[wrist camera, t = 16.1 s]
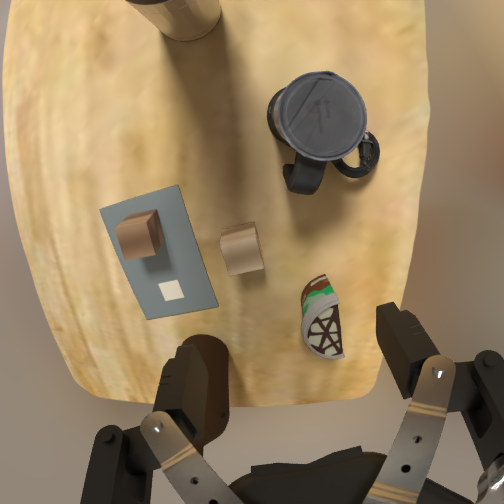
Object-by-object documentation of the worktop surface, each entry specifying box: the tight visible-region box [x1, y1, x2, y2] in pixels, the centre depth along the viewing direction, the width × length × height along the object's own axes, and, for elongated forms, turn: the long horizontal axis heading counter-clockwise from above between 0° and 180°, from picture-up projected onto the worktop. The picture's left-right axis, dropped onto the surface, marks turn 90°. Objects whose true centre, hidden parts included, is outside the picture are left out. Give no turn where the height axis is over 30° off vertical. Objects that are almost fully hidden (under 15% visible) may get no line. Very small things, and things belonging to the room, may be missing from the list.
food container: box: [301, 274, 345, 359], centre depth 50 cm, size 12×6×10 cm, turn 14°
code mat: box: [99, 185, 218, 320], centre depth 50 cm, size 22×14×1 cm, turn 14°
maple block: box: [220, 222, 264, 276], centre depth 47 cm, size 5×5×6 cm
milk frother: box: [267, 71, 380, 195], centre depth 35 cm, size 14×16×15 cm
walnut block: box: [115, 209, 165, 260], centre depth 45 cm, size 5×5×6 cm
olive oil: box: [182, 335, 229, 457], centre depth 48 cm, size 11×11×25 cm
